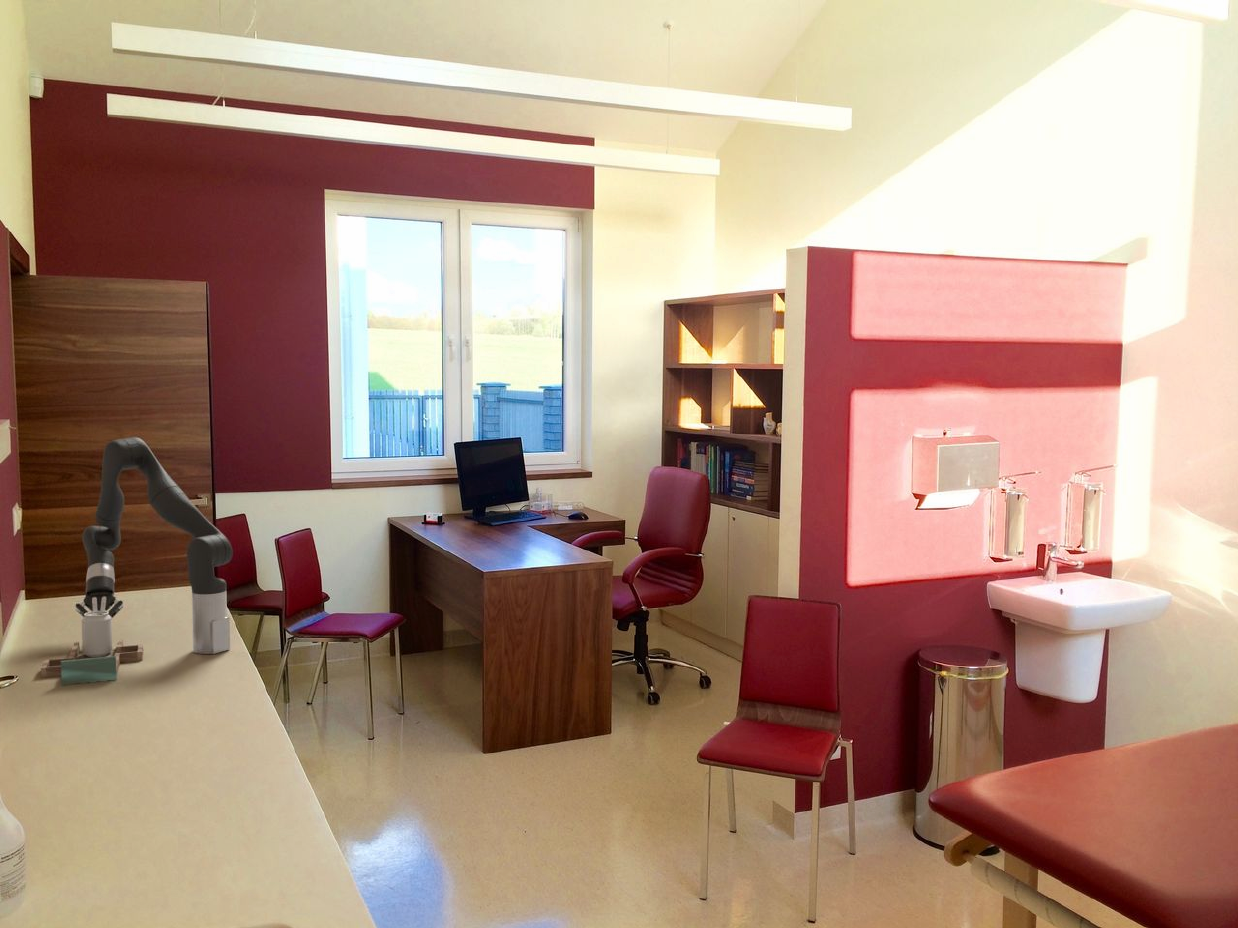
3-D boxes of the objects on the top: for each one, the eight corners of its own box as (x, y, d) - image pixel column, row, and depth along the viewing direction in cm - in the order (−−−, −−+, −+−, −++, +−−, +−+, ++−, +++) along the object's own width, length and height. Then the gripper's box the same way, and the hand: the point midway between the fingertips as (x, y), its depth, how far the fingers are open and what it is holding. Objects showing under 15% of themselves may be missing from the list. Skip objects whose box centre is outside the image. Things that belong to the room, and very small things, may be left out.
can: (118, 651, 285) (116, 610, 284) (102, 658, 278) (100, 615, 277) (93, 650, 286) (92, 609, 285) (76, 657, 279) (75, 615, 278)
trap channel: (52, 653, 283) (51, 632, 282) (144, 645, 292) (143, 624, 292) (36, 687, 251) (35, 664, 250) (140, 677, 260) (139, 654, 260)
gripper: (74, 576, 293) (71, 626, 283) (124, 573, 298) (123, 622, 288) (76, 590, 298) (73, 640, 288) (125, 587, 304) (124, 636, 293)
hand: (98, 631), depth 288 cm, fingers closed
